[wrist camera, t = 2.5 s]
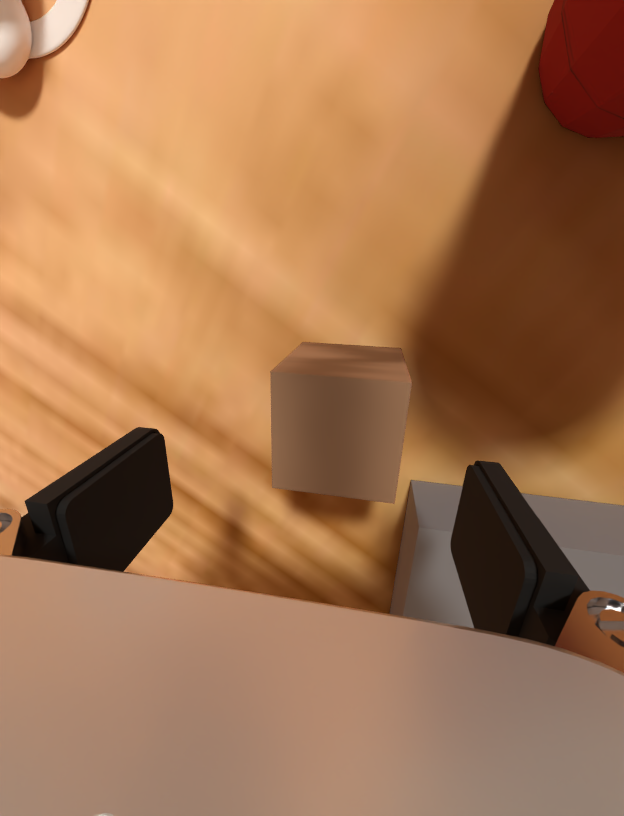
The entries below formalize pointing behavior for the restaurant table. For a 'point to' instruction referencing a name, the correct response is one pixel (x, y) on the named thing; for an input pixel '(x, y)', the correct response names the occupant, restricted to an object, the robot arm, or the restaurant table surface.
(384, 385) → the walnut block
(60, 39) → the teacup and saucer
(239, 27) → the restaurant table surface
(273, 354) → the restaurant table surface
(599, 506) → the grey square slab
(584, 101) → the plastic cup
